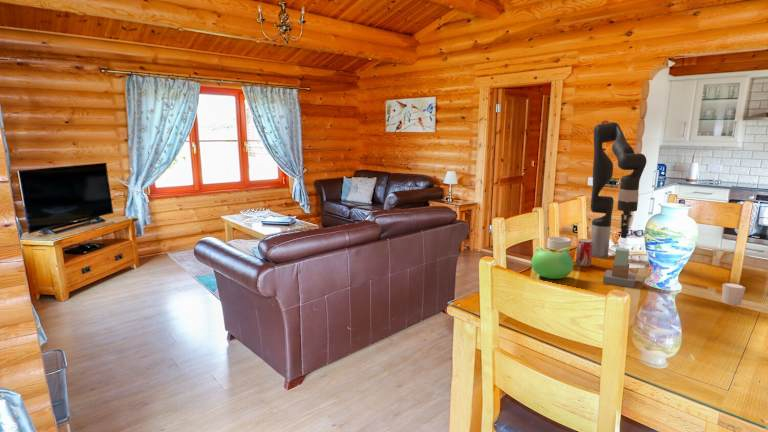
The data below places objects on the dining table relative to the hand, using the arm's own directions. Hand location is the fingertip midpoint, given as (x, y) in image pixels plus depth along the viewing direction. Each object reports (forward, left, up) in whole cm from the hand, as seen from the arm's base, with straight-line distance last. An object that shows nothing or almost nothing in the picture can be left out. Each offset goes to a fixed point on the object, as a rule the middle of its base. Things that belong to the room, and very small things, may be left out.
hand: (624, 235), depth 185 cm
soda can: (-19, -18, -21) cm, 34 cm away
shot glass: (+4, +39, -22) cm, 45 cm away
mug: (-16, -30, -21) cm, 40 cm away
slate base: (0, 0, -21) cm, 21 cm away
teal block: (0, 0, -13) cm, 13 cm away
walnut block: (0, 0, -18) cm, 18 cm away
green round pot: (+11, -27, -22) cm, 36 cm away
